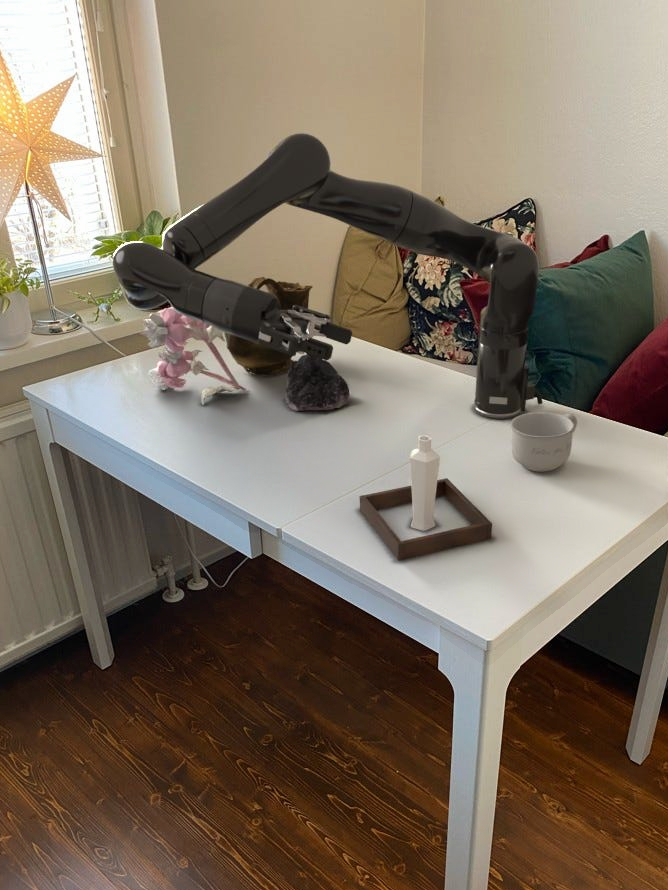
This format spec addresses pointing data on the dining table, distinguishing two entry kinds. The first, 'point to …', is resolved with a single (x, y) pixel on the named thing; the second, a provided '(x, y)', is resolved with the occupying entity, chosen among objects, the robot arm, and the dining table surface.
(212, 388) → the flower
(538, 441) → the teacup
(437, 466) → the perfume bottle
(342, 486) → the dining table surface
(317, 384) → the crystal cluster
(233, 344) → the pottery vessel
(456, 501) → the walnut frame
